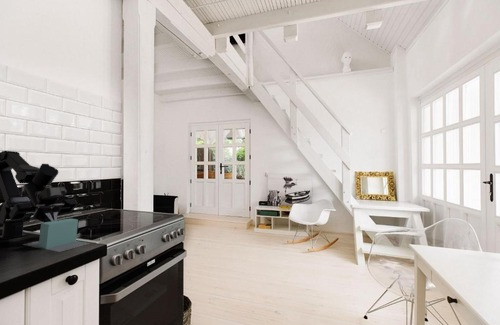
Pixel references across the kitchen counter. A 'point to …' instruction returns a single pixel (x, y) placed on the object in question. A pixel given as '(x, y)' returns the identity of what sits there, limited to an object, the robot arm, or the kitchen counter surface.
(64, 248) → the slate mat
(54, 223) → the teal block
